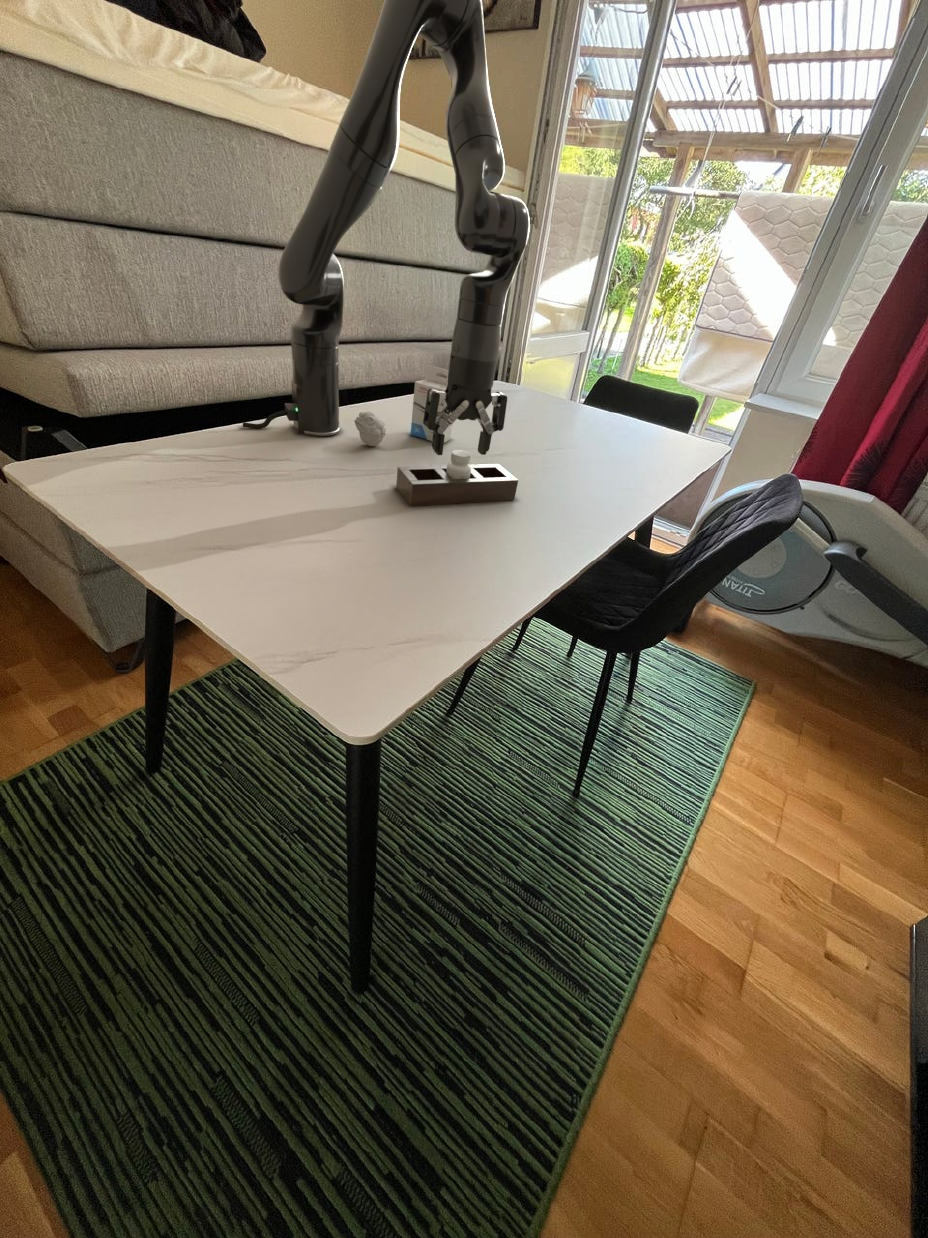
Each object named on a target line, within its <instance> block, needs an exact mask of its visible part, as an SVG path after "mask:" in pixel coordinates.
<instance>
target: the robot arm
mask: <svg viewBox="0 0 928 1238" xmlns="http://www.w3.org/2000/svg"><path fill="white" fill-rule="evenodd" d="M484 23H485V22H484V9H483V0H384V1H383V3H382V7H381V10H380V14H379V17H378V20H377V24H376V27H375V30H374V33H373V36H372V38H371V39H372V40H371V42H370V45H369V48H368V51H367V53H366V57H365V59H364V63H363V65H362V68H361V71H360V72H359V75H358V78H357V81H356V84H355V85H354V88H353V91H352V94H351V96H350V98H349V101H348V104H347V106H346V108H345V110H344V112H343V114H342V117H341V119H340V122H339V125H338V127H337V129H336V131H335V134H334V137H333V139H332V141H331V144H330V147H329V149H328V152H327V156H326V158H325V161H324V163H323V166H322V169H321V171H320V173H319V175H318V177H317V180H316V183H315V185H314V186H313V190H312V193H311V195H310V197H309V199H308V202H307V205H306V207H305V209H304V211H303V214H302V215H301V217H300V218H299V221H298V223H297V225H296V226H295V228H294V230H293V232H292V234H291V236H290V238H289V240H288V242H287V243H286V245H285V248H283V251H282V253H281V256H280V259H279V262H278V272H277V273H278V282H279V286H280V288H281V291H282V293H283V294H284V296H285V297H286V298H287V299H288V300H289V301H290V302H292V303H293V304H294V303H295V304H296V305H301V307H302V308H301V311H300V314H299V316H298V317H297V319H296V320H295V321H294V322H293V323H292V325H291V326H290V348H291V363H292V365H291V366H292V368H291V369H292V379H291V381H290V382H291V401H292V402H288V403H287V402H285V403H284V409H283V410H280V411H277V412H274V413H272V414H270V415H268V416H267V417H266V419H265V420H264V421H263V422H262V423H252V422H244V421H243V422H242V428H248V429H255V430H260V429H264V428H267V427H268V426H269V425H270V423H271V422H272V421H273V420H275V419H278V418H279V417H284V416H286V418H287V420H288V421H289V422H293V426H294V428H295V430H296V432H297V434H298V435H307V436H311V437H312V436H313V437H331V436H334V435H337V434H339V433H340V392H339V390H340V386H339V384H340V383H339V380H340V378H339V374H340V373H339V371H340V370H339V369H340V367H339V361H340V360H339V359H340V358H339V339H340V335H341V333H342V329H343V321H344V302H345V299H344V298H345V284H344V283H345V282H344V274H343V270H342V266H341V263H340V261H339V259H338V257H337V256H336V255H335V254H334V252H335V250H336V248H337V246H338V244H339V243H340V241H341V240H342V238H343V237H344V236H345V234H346V233H347V232H348V231H349V230H350V228H351V227H353V225H355V224H356V222H357V221H358V220H360V218H361V217H362V216H363V215H364V214H365V213H366V212H367V211H368V209H370V207H371V206H372V205H373V204H374V202H375V201H376V199H377V198H378V197H379V195H380V193H381V191H382V189H383V187H384V185H385V183H386V181H387V178H388V176H389V174H390V172H391V170H392V168H393V166H394V163H395V161H396V159H397V156H398V151H399V145H400V127H401V125H400V121H401V120H400V114H401V112H400V111H401V110H400V109H401V107H400V105H401V102H400V101H401V89H402V81H403V77H404V72H405V69H406V65H407V63H408V60H409V57H410V54H411V52H412V48H413V46H414V44H415V42H416V40H417V37H418V36H421V38H422V39H424V41H426V42H427V43H428V44H429V45H430V46H431V47H432V48H433V49H435V50H437V51H438V53H439V55H440V57H441V59H442V61H443V64H444V66H445V69H446V72H447V75H448V79H449V82H450V83H449V84H450V93H449V96H448V100H447V103H446V110H445V117H444V118H445V119H444V122H445V133H446V134H445V135H446V140H447V145H448V149H449V153H450V157H451V163H452V167H453V171H454V174H455V175H454V177H455V179H454V180H455V183H454V184H455V185H454V186H455V188H454V189H455V191H454V192H455V201H454V202H455V205H454V206H455V207H454V230H455V234H456V238H457V240H458V241H459V243H460V244H461V246H462V247H463V248H464V249H465V250H466V251H468V252H470V253H473V254H478V255H484V256H489V257H488V260H487V263H486V264H485V267H484V268H483V269H482V270H481V271H478V272H473V273H469V274H466V275H464V277H462V279H461V283H460V285H459V293H458V296H459V297H458V302H457V312H456V319H455V324H454V329H453V333H452V339H451V348H450V355H449V356H450V357H449V365H448V370H449V372H448V385H447V388H446V390H445V392H443V391H435V390H434V389H432V388H430V389H429V390H428V393H427V399H426V406H425V413H424V419H423V424H424V425H425V426H426V427H427V428H428V429H429V430H433V441H431V449H432V450H433V451H434V453H435V454H436V455H437V456H443V454H444V444H445V443H444V438H445V434H444V431H445V430H446V429H447V428H448V426H449V425H451V424H452V425H453V424H454V423H455V422H456V421H457V420H458V421H465V420H470V421H478V423H479V425H480V427H481V429H482V430H480V433H479V439H478V444H477V453H478V454H480V455H481V456H484V455H485V456H486V455H487V452H489V451H490V448H491V447H490V446H491V442H492V436H493V435H494V433H495V432H501V431H503V430H504V426H505V419H506V413H507V412H506V411H507V405H508V396H507V395H506V394H504V393H503V392H501V391H499V390H498V391H496V392H495V393H492V388H493V387H494V383H495V382H494V381H495V377H496V376H495V375H496V369H497V363H498V357H499V353H500V345H501V335H502V334H501V333H502V324H503V319H504V312H505V305H506V300H507V295H508V291H509V289H510V287H511V285H512V283H513V279H514V277H515V275H516V272H517V270H518V267H519V265H520V262H521V260H522V257H523V255H524V253H525V250H526V247H527V244H528V240H529V235H530V228H531V226H530V225H531V224H530V222H531V221H530V215H529V210H528V207H527V206H526V204H525V202H523V200H522V199H520V198H518V197H515V196H512V195H507V194H503V193H498V192H495V191H493V190H495V189H496V188H497V187H498V186H499V184H500V183H501V182H502V180H503V178H504V174H505V170H506V169H505V168H506V167H505V166H506V165H505V164H506V163H505V158H504V157H505V156H504V152H503V148H502V143H501V139H500V134H499V129H498V124H497V120H496V117H495V113H494V108H493V103H492V97H491V90H490V83H489V73H488V62H487V50H486V41H485V40H486V39H485V38H486V37H485V24H484ZM442 400H445V402H446V404H447V405H446V406H445V408H444V409H443V410H442V411H441V413H440V416H439V417H438V419H437V420H436V417H437V411H438V406H439V405H440V404H441V403H442ZM490 405H492V416H491V419H490V417H489V415H488V412H487V408H488V407H489V406H490ZM450 413H451V414H450ZM449 414H450V415H449Z"/></svg>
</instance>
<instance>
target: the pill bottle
mask: <svg viewBox="0 0 928 1238" xmlns="http://www.w3.org/2000/svg"><path fill="white" fill-rule="evenodd" d="M470 461H471V453H470V452H469V451H467V450H463V449H453V450H451V453H450V462H448V463H447V464H446V465H447V471H446V474H447V475H448V476H449V477H450V478H451V479H470V473H471V467H470V466H469V465H470V464H469V463H470Z"/></svg>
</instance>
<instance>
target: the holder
mask: <svg viewBox="0 0 928 1238" xmlns="http://www.w3.org/2000/svg"><path fill="white" fill-rule="evenodd" d="M447 465H448V464H446V465H406V466H404V465H403V466H397V467H396V468H397V469H396V486H395V487H396V489H397V490H398V492H399V493H400V494H401V495H402V497H403V498H404V500H405V501H406V502H407V503H408V504H409V506H410V507H421V506H435V505H436V506H437V505H454V504H456V505H457V504H471V503H472V504H473V503H486V502H487V503H489V502H490V503H491V502H505V501H515V499H516V493H517V488H518V483H519V479H518V478H516V477H515V476H514V475H513V474H511V473H510V472H509V471H508V470H507V469H506V468H504V467H503V466H502V465H501V464H500V463H487V464H486V463H484V464H483V463H482V464H468V465H469V466H470V467H471V473H470V479H451V478H450V477H449V476H448V475H447V474H446V471H447Z"/></svg>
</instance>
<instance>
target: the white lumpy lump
mask: <svg viewBox="0 0 928 1238" xmlns="http://www.w3.org/2000/svg"><path fill="white" fill-rule="evenodd" d="M353 421H354V425H355V427H356V430H357V431H358V432H359V433H358V434H359V438H360V440H361V442H362V443H363V444H364V445H366V446H368V447H375V446H378V445H380V443H381V442H382V441H383V438H384V437H385V436H386V432H387V428H386V423H385V421H383V420H382V419H381V418H379V417H378V416H376V415H375V414H374V413H373V412H371V411H365V412H364V411H360V412H359V413H358V416H357V417H356V418H355V419H354V420H353Z"/></svg>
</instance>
